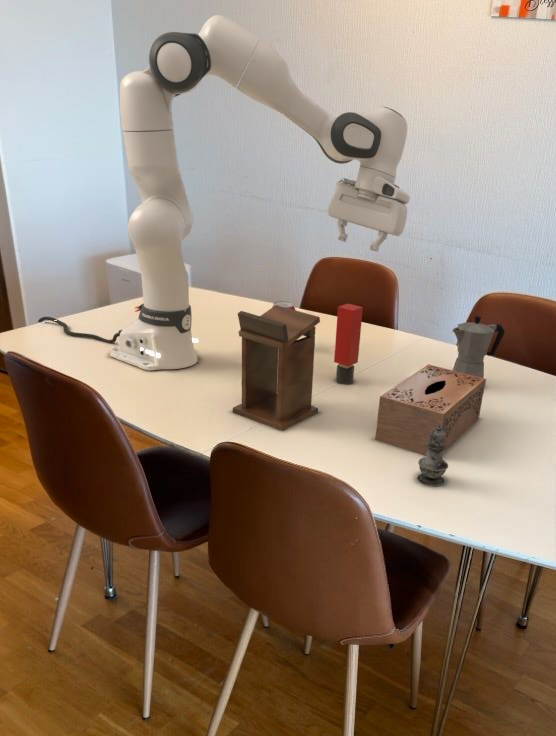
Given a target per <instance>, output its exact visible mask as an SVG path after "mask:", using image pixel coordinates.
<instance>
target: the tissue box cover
mask: <svg viewBox="0 0 556 736" xmlns="http://www.w3.org/2000/svg"><path fill="white" fill-rule="evenodd" d="M486 381H487V378H485V377H484V378H481V377H477V376H473V375H469V374H465V373H461V372H457V371H453V369H449V368H446V367H441V366H437V365H433V364H429V363H428V364H426V365H425V366H423V367H422V368H421V369H419V370H417V371H416V372H415V373H413V374H412V375H410V376H409V377H407V378H406V379H404V380H403V381H401V382H399V383H398V384H397V385H395V386H394V387H391V388H390V389H389V390H387V391H386V392H384V393H383V394H382V395H380V396H379V401H378V412H377V420H376V428H375V438H374V440H375V441H377V442H381V443H384V444H388V445H391V446H394V447H396V448H402V449H403V450H407V451H411V452H414V453H417V454H419V455H420V454H421V455H422V456H426V455H427V450H428V447H427V443H429V440H430V433H431V430H432V429H433V428H437V427H438V425H439V424H440V425H441V427H440V428H442V429H444V430H445V432H446V435H445V441H444V445H445V447H446V448H445V449H444V450H443V453H445V451H446V450H447V449H448V448H449V447H450V446H452V445H453V444H454V443H455V442H456V441H457V440H458V439H459V438H460V437H461V436H462V435H463V434H465V433H466V431H468V430H469V429H470V428H471V427H472V426H473V425H474V424H475V423H476V422H477V421H479V419H480V412H481V408H482V402H483V397H484V393H485V392H484V391H485V386H486Z"/></svg>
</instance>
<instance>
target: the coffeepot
mask: <svg viewBox="0 0 556 736" xmlns="http://www.w3.org/2000/svg"><path fill="white" fill-rule="evenodd" d="M481 319H482V316H480V315H475V316H474V322H472V321H471V322H470V321H468V322H467V321H466V322H462V323H458V324H457V327H454V328H452V333H454V335H455V337H456V339H457V348H456V349H457V353H458V354H457V357H456V359H455V361H454V364H453V367H452V370H453V371H457V372H461V373H465V374H469V375H473V376H477V377H481V378H485V362H484V361H485V360H484V359H485V356H487V357H491V356H494V355H495V353H496V351H497V349H498V348H499V346H500V343H501V342H502V339H503V337H504V335H505V333H506V331H505V328H504V327H503V325H502V324H500V323H497V324H493V323H492V324H488V325H487V324H485V323H480V322H481ZM494 333H497V334H496V336H495V340H494V342H493V344H492V346H491V349H490V351H489V347H490V345H491V342H492V339H493V337H494Z"/></svg>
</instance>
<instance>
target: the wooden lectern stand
mask: <svg viewBox="0 0 556 736" xmlns="http://www.w3.org/2000/svg"><path fill="white" fill-rule="evenodd" d="M237 318H238V323H239V328H240V330H238V331H237V332H238V336H239V337H241V403H240V404H237V405H235V406H233V407H232V413H234V414H236V415H239V416H241V417H245V418H247V419H250V420H252V421H255V422H257V423H260V424H262V425H265V426H268V427H271V428H273V429H276V430H279V431H281V432H282V431H284V430H286V429H288V428H290V427H291V426H294V425H296V424H298V423H300V422H302V421H305V420H306V419H308V418H310V417H312V416H315V415H316V414H319V407H317V406H315V405H312V399H313V382H314V381H313V380H314V364H315V347H316V329H317V328H316V326H317V325H318V324H319V323H321V318H320V316H318V315H314V314H310V313H306V312H304V311H299V310H296V309H295V310H293V309H289V308H286V307H282V306H278V305H275V306H274V307H273V306H272V307H271V308H269V309H268V310H266V311H265V312H263V313H262V314H261V315H257V314H254V313H250V312H246V311H243V310H240V311H239V312H237Z"/></svg>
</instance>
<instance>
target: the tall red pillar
mask: <svg viewBox="0 0 556 736" xmlns="http://www.w3.org/2000/svg"><path fill="white" fill-rule="evenodd" d="M363 309H364V308H363V306H359V305H355V304H351V303H345V304H342V305H339V306H337V315H336V327H335V328H336V329H335V330H336V331H335V342H334V343H335V344H334V355H333V357H334V358H333V362H334V363H336V364H337V365H336V373H335V374H336V375H335V381H336V383H338V384H341V385H351V384H353V383H354V375H355V366H354V365H355V364H357V363H359V355H360V344H361V331H362V319H363V311H364V310H363Z"/></svg>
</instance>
